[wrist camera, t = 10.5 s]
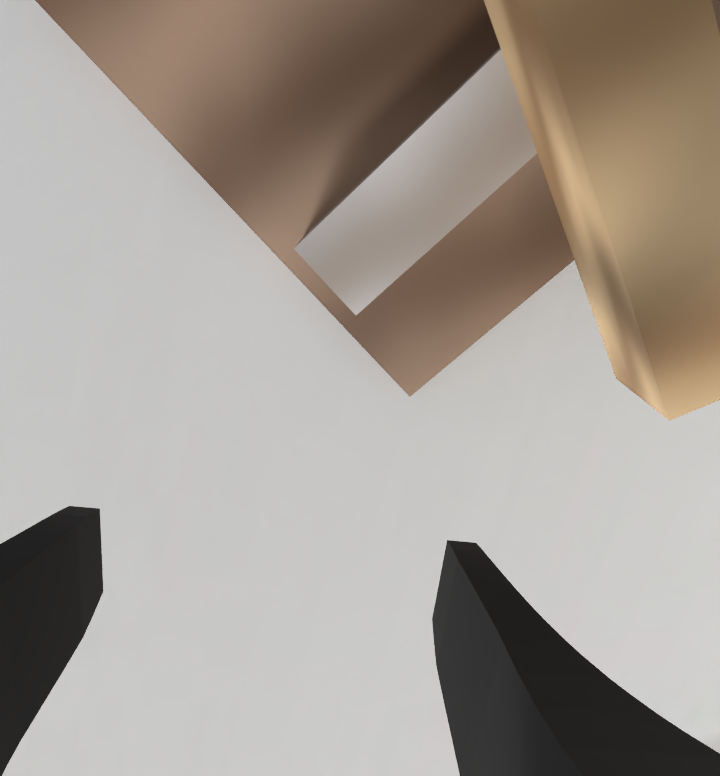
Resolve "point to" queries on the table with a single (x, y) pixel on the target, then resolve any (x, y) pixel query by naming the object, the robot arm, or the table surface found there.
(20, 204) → the table surface
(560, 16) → the oak bar
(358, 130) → the stand
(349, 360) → the table surface
